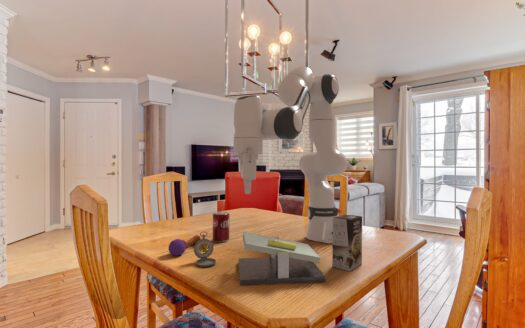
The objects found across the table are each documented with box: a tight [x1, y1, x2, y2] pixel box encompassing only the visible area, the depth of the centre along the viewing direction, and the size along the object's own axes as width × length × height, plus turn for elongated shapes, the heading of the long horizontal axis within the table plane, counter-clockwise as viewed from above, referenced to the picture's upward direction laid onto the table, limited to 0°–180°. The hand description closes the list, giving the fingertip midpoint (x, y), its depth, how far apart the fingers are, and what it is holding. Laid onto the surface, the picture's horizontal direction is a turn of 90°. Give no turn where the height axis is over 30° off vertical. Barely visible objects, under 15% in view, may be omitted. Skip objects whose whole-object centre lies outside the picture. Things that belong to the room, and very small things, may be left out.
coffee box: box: [331, 214, 363, 272], centre depth 93 cm, size 9×6×16 cm
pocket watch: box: [193, 231, 217, 268], centre depth 95 cm, size 8×8×10 cm
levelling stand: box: [238, 236, 326, 286], centre depth 87 cm, size 24×18×8 cm
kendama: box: [168, 234, 202, 257], centre depth 110 cm, size 6×6×20 cm
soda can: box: [212, 211, 231, 243], centre depth 123 cm, size 7×7×12 cm
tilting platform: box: [242, 231, 321, 264], centre depth 88 cm, size 22×14×4 cm, turn 96°
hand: (247, 193), depth 86 cm, fingers closed
